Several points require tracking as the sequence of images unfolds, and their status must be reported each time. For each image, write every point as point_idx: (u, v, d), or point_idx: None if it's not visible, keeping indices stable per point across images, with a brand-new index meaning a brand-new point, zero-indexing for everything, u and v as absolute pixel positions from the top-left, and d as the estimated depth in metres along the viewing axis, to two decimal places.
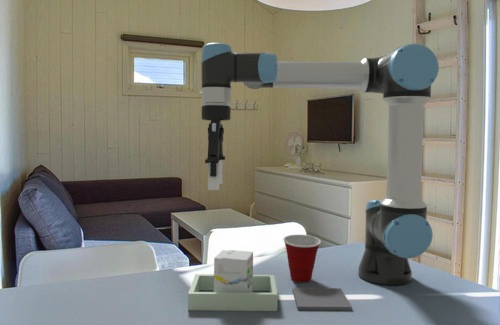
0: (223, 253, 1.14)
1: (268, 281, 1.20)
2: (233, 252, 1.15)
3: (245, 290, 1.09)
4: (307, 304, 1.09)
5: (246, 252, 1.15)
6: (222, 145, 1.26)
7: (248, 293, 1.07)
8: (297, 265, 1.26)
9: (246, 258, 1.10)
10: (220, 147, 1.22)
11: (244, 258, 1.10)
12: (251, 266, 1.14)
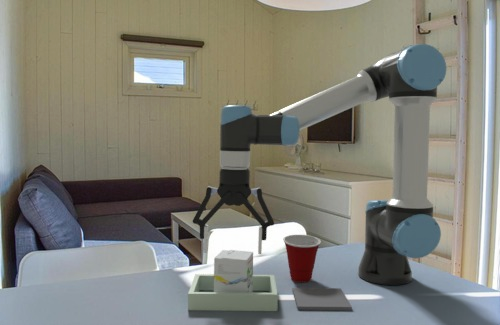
0: (223, 253, 1.14)
1: (268, 281, 1.20)
2: (233, 252, 1.15)
3: (245, 290, 1.09)
4: (307, 304, 1.09)
5: (246, 252, 1.15)
6: (268, 212, 1.11)
7: (248, 293, 1.07)
8: (297, 265, 1.26)
9: (246, 258, 1.10)
10: None
11: (244, 258, 1.10)
12: (251, 266, 1.14)
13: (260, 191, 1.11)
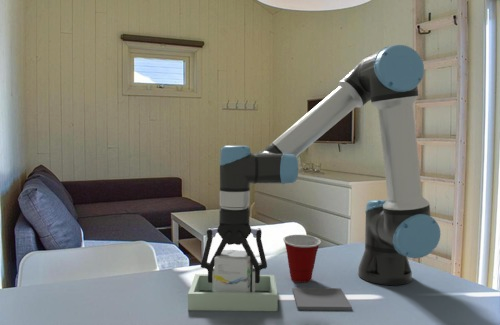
0: (223, 253, 1.14)
1: (268, 281, 1.20)
2: (233, 252, 1.15)
3: (245, 290, 1.09)
4: (307, 304, 1.09)
5: None
6: (264, 255, 1.12)
7: (248, 293, 1.07)
8: (297, 265, 1.26)
9: (247, 258, 1.10)
10: (247, 254, 1.12)
11: (244, 258, 1.10)
12: (251, 266, 1.14)
13: (260, 233, 1.12)
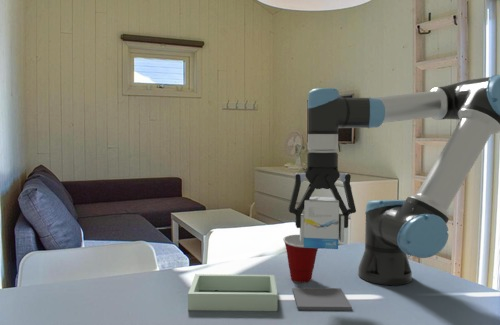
0: (310, 198, 1.14)
1: (268, 281, 1.20)
2: (320, 198, 1.14)
3: (337, 233, 1.08)
4: (307, 304, 1.09)
5: (332, 198, 1.15)
6: (353, 199, 1.11)
7: (248, 293, 1.07)
8: (297, 265, 1.26)
9: (337, 201, 1.09)
10: (336, 198, 1.11)
11: (335, 201, 1.09)
12: None
13: (349, 177, 1.11)
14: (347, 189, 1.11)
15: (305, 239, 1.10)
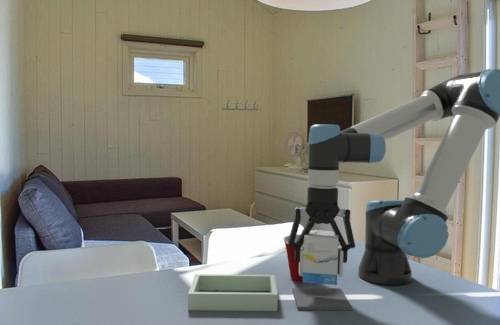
0: (309, 232, 1.14)
1: (268, 281, 1.20)
2: (319, 231, 1.15)
3: (336, 268, 1.09)
4: (307, 304, 1.09)
5: (332, 232, 1.15)
6: (352, 234, 1.12)
7: (248, 293, 1.07)
8: (297, 265, 1.26)
9: (337, 237, 1.09)
10: (335, 233, 1.12)
11: (334, 237, 1.09)
12: None
13: (349, 212, 1.11)
14: (347, 224, 1.12)
15: (304, 274, 1.10)
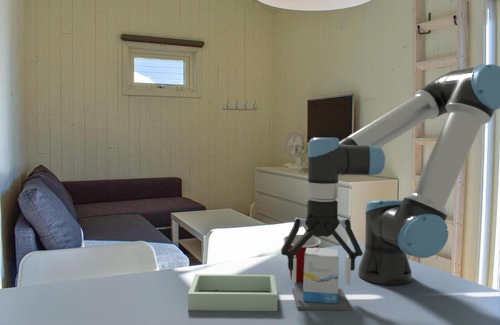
0: (310, 251, 1.14)
1: (268, 281, 1.20)
2: (319, 250, 1.15)
3: (336, 287, 1.09)
4: (307, 304, 1.09)
5: (332, 250, 1.15)
6: (357, 242, 1.12)
7: (248, 293, 1.07)
8: (297, 265, 1.26)
9: (337, 256, 1.10)
10: (340, 244, 1.12)
11: (335, 256, 1.10)
12: None
13: (349, 222, 1.11)
14: (349, 234, 1.12)
15: (305, 293, 1.10)
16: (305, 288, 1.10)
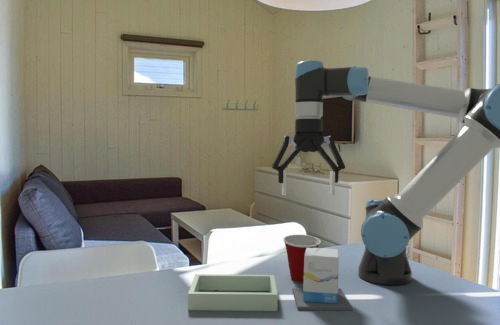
0: (310, 251, 1.14)
1: (268, 281, 1.20)
2: (319, 250, 1.15)
3: (336, 287, 1.09)
4: (307, 304, 1.09)
5: (332, 250, 1.15)
6: (340, 157, 1.24)
7: (248, 293, 1.07)
8: (297, 265, 1.26)
9: (337, 256, 1.10)
10: (325, 158, 1.24)
11: (335, 256, 1.10)
12: None
13: (333, 138, 1.24)
14: (333, 149, 1.24)
15: (305, 293, 1.10)
16: (305, 288, 1.10)
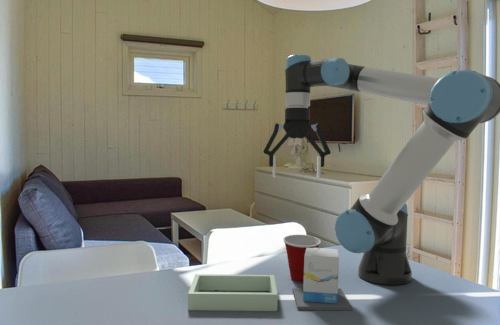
0: (310, 251, 1.14)
1: (268, 281, 1.20)
2: (319, 250, 1.15)
3: (336, 287, 1.09)
4: (307, 304, 1.09)
5: (332, 250, 1.15)
6: (326, 143, 1.35)
7: (248, 293, 1.07)
8: (297, 265, 1.26)
9: (337, 256, 1.10)
10: (311, 144, 1.36)
11: (335, 256, 1.10)
12: None
13: (319, 126, 1.35)
14: (320, 136, 1.35)
15: (305, 293, 1.10)
16: (305, 288, 1.10)
